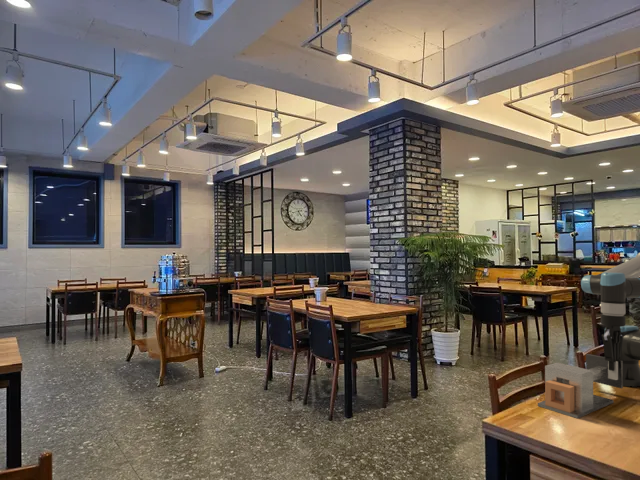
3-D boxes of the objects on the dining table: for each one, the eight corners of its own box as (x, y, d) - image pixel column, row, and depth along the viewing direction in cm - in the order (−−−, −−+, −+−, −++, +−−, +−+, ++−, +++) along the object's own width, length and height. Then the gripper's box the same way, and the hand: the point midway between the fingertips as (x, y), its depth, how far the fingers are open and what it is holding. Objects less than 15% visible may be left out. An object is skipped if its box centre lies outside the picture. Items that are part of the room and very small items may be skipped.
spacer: (549, 403, 147) (549, 380, 147) (574, 410, 140) (574, 386, 140) (545, 405, 145) (545, 381, 145) (570, 412, 138) (569, 388, 139)
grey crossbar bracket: (587, 379, 166) (587, 353, 167) (622, 387, 156) (622, 360, 157) (551, 392, 151) (551, 363, 151) (587, 402, 141) (587, 372, 141)
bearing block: (574, 392, 161) (574, 357, 162) (613, 402, 151) (612, 364, 151) (537, 405, 147) (537, 367, 147) (577, 418, 136) (577, 376, 136)
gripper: (609, 312, 163) (609, 374, 162) (593, 314, 156) (593, 379, 155) (632, 314, 156) (632, 379, 156) (616, 316, 149) (617, 384, 149)
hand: (613, 378), depth 155 cm, fingers closed
